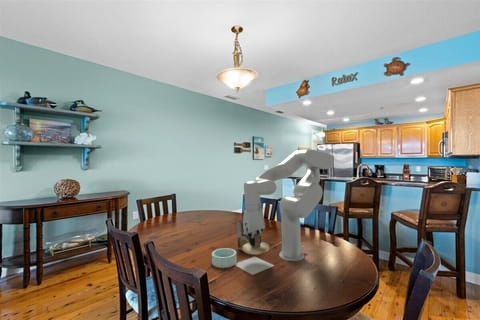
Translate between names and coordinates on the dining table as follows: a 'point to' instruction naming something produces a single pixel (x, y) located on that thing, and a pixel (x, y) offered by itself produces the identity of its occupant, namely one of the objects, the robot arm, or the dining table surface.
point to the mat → (253, 265)
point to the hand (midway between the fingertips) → (255, 243)
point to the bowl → (224, 257)
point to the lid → (256, 246)
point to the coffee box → (242, 235)
